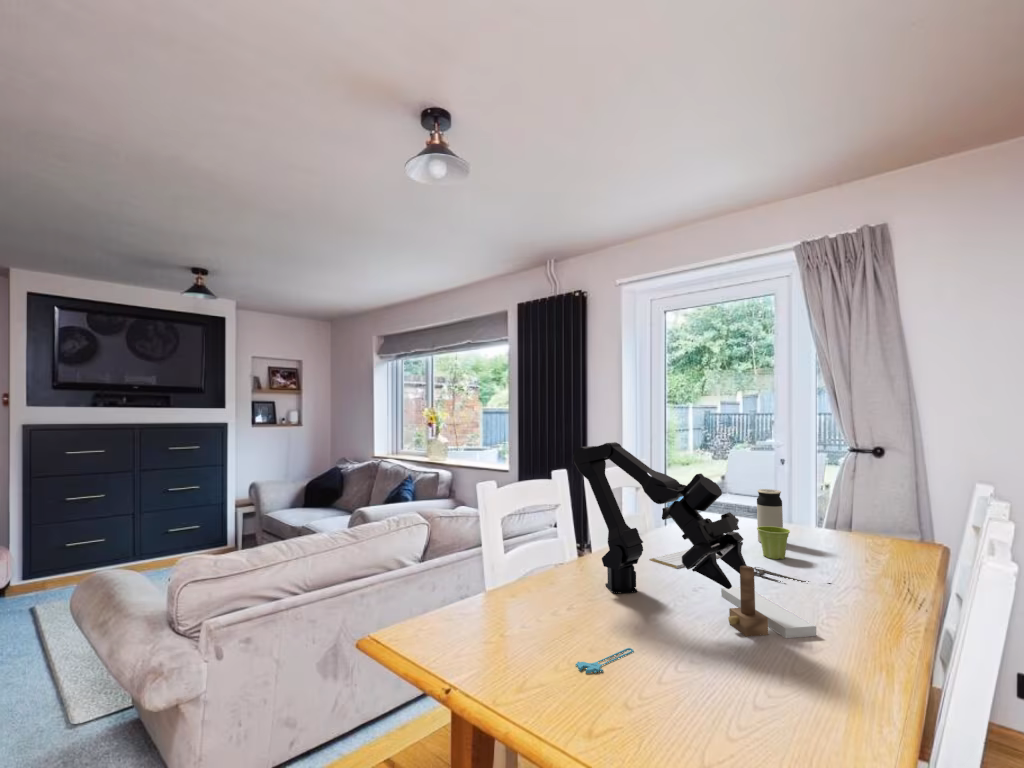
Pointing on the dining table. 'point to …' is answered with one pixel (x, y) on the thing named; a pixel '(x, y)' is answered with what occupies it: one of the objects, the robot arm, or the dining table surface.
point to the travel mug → (769, 509)
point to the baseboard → (673, 559)
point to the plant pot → (773, 541)
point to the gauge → (748, 607)
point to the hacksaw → (772, 574)
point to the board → (774, 615)
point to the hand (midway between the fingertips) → (740, 583)
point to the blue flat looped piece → (595, 666)
